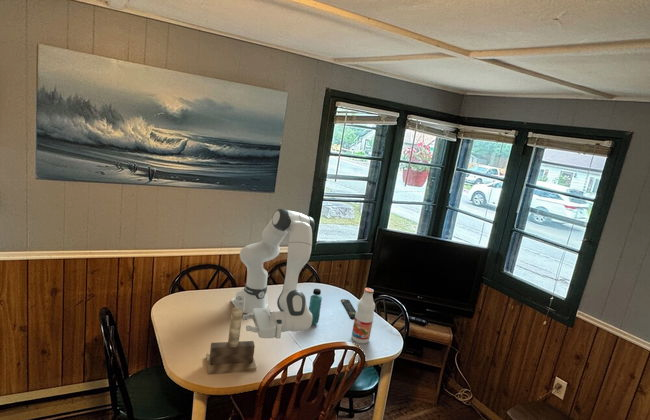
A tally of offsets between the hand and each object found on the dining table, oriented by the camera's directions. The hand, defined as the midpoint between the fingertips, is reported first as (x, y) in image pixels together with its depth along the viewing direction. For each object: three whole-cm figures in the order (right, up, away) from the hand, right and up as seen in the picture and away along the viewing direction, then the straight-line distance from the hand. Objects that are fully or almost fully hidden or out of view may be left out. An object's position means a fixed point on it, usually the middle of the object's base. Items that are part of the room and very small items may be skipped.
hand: (244, 322), depth 175 cm
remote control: (+49, -13, +73) cm, 89 cm away
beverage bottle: (+27, -14, +49) cm, 58 cm away
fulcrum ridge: (-6, -19, +3) cm, 20 cm away
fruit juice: (+53, -20, +40) cm, 69 cm away
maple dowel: (-5, -9, +1) cm, 11 cm away
